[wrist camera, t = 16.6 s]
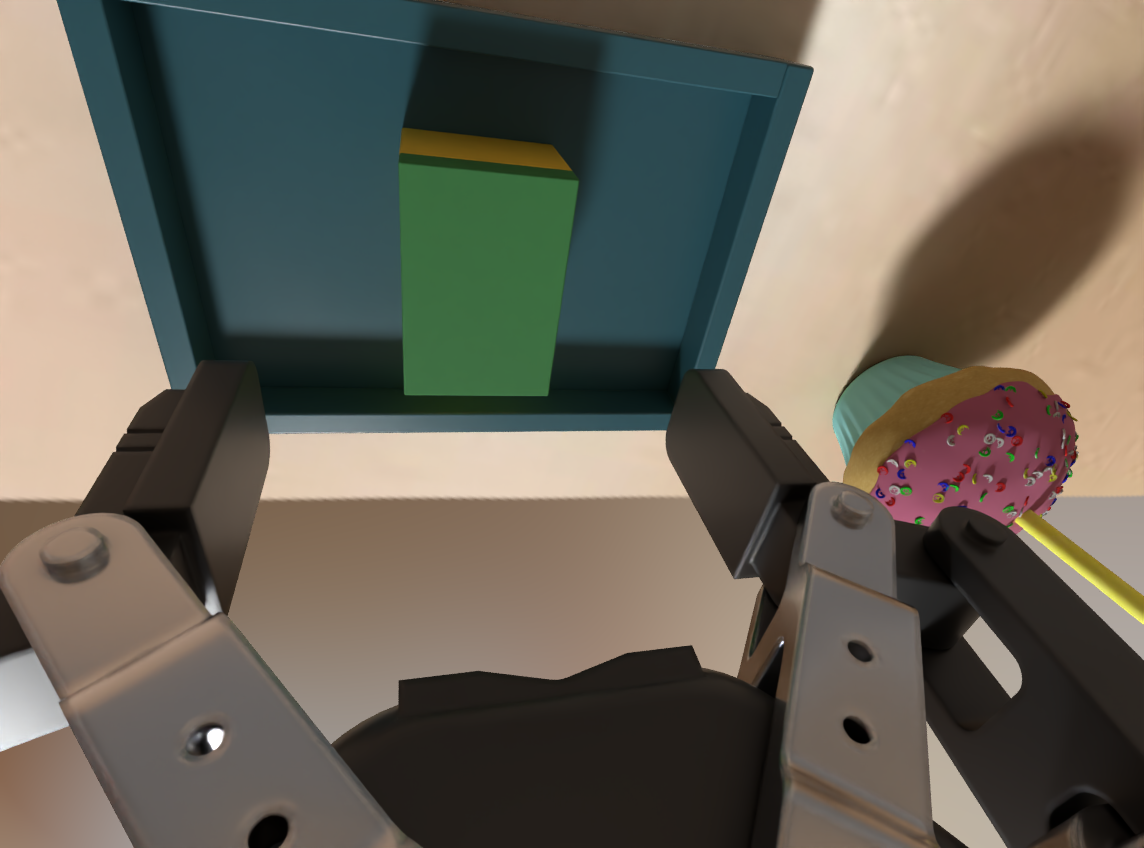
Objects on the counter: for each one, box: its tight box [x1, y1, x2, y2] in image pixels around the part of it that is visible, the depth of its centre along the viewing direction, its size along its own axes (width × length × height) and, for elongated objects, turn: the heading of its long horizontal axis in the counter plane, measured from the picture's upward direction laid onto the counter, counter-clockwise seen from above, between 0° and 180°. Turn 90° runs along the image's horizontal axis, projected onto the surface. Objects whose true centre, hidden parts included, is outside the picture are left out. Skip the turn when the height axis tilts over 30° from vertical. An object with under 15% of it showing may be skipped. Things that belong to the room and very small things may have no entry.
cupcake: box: [833, 355, 1144, 624], centre depth 21 cm, size 9×8×12 cm
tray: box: [57, 0, 814, 434], centre depth 17 cm, size 17×12×2 cm
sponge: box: [398, 128, 579, 396], centre depth 16 cm, size 6×4×4 cm, turn 171°
